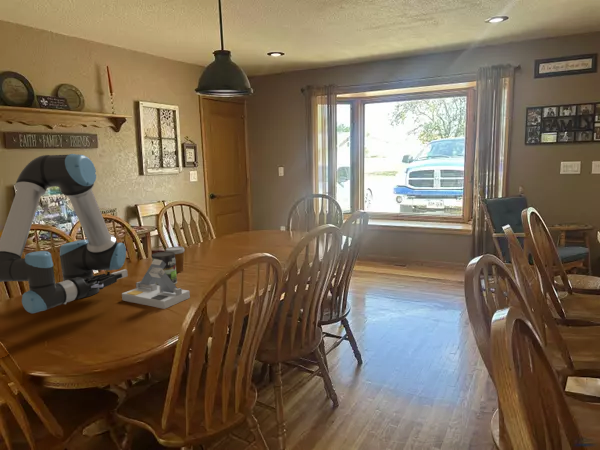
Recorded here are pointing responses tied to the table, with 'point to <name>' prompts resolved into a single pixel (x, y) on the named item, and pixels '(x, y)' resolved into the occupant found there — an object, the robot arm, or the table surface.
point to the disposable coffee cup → (178, 257)
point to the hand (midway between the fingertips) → (126, 272)
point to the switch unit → (155, 296)
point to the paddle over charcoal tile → (162, 280)
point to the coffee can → (167, 264)
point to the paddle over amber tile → (148, 278)
